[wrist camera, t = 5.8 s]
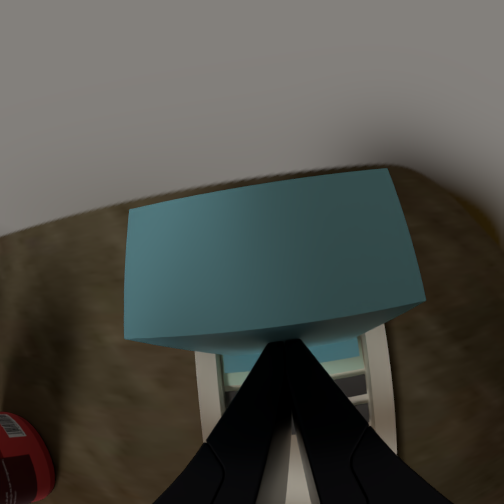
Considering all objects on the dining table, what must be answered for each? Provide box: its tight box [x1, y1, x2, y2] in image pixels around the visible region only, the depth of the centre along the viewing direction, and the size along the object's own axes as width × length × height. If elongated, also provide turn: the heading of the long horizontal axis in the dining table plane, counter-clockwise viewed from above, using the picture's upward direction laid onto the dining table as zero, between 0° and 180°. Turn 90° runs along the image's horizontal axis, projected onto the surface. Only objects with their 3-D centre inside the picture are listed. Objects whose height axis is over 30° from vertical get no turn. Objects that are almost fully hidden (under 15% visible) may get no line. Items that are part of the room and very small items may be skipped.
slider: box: [124, 168, 426, 373], centre depth 10 cm, size 4×6×10 cm, turn 96°
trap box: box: [195, 324, 397, 504], centre depth 12 cm, size 22×9×4 cm, turn 6°
